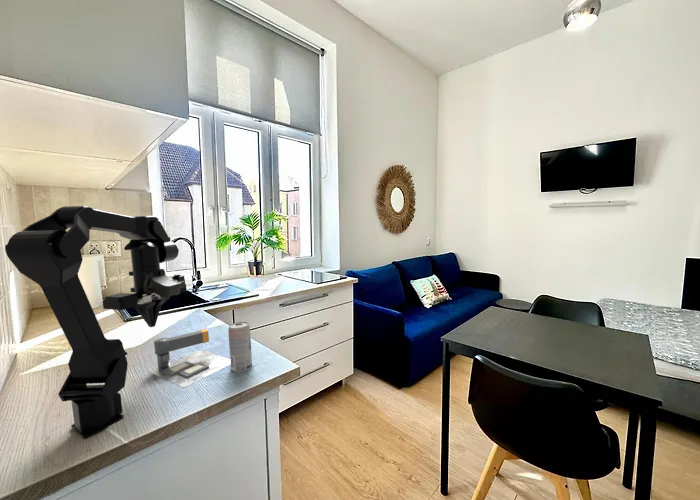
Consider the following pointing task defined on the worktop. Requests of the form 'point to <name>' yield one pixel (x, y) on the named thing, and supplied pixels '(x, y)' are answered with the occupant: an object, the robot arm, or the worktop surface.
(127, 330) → the worktop surface
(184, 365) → the label tile
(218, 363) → the plate
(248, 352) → the energy drink
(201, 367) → the label tile
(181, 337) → the swing arm
